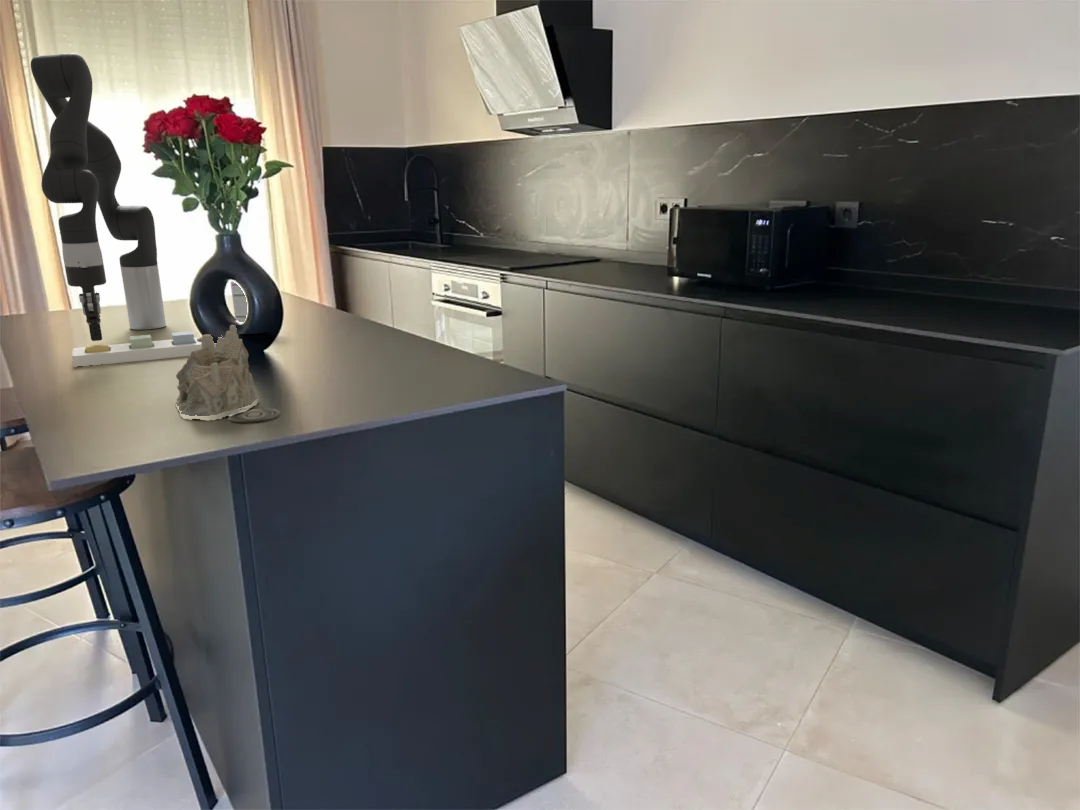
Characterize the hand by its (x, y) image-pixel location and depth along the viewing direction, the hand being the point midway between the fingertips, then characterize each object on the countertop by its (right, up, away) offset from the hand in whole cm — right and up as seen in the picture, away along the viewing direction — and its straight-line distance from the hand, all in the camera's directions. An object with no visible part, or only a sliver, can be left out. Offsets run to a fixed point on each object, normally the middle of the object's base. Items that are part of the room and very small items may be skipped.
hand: (96, 340), depth 176 cm
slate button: (+16, -1, +9) cm, 18 cm away
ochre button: (0, -4, +1) cm, 4 cm away
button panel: (+10, -3, +6) cm, 12 cm away
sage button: (+8, -2, +5) cm, 9 cm away
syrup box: (+23, +4, +33) cm, 40 cm away
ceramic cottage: (+41, -16, -36) cm, 57 cm away
